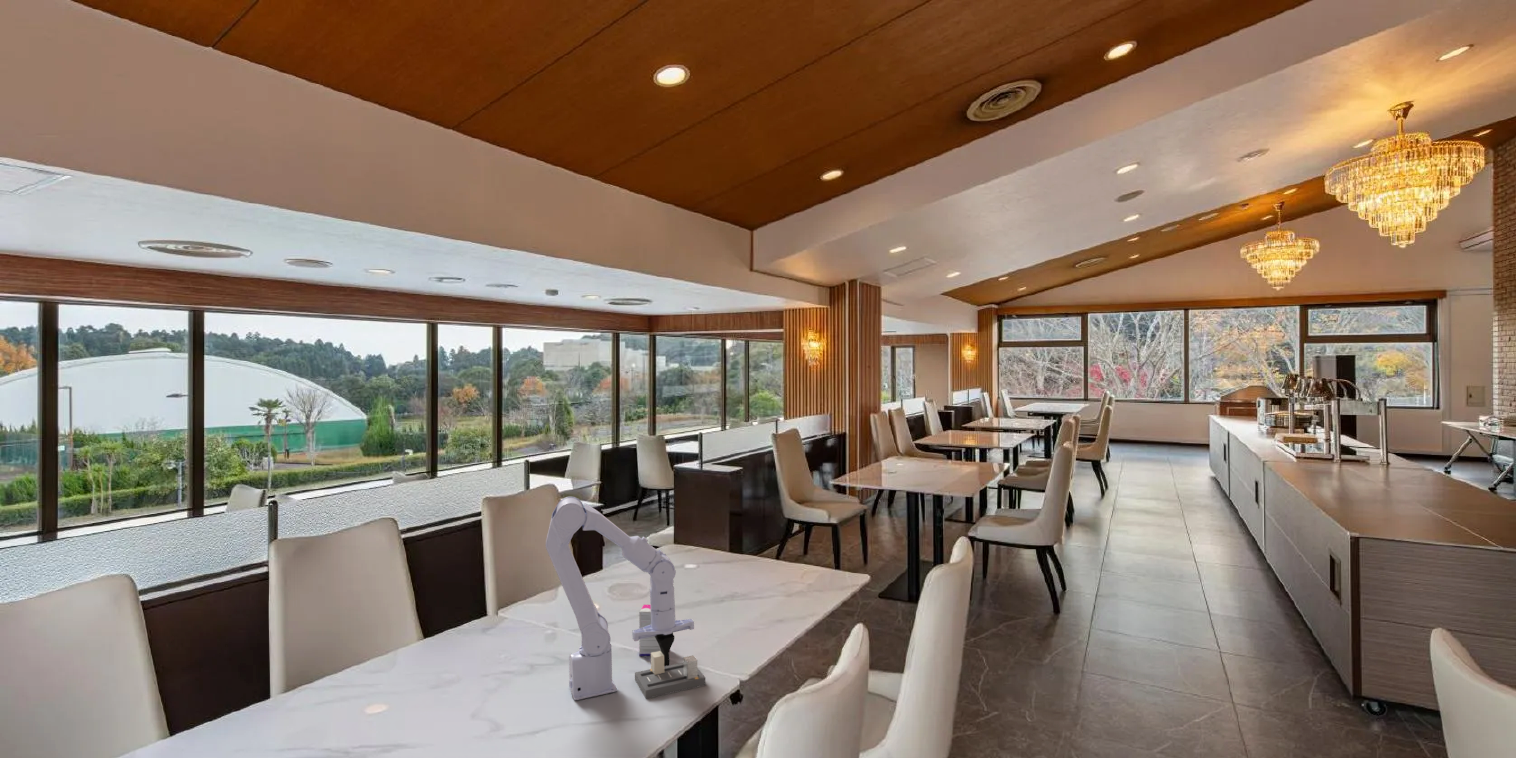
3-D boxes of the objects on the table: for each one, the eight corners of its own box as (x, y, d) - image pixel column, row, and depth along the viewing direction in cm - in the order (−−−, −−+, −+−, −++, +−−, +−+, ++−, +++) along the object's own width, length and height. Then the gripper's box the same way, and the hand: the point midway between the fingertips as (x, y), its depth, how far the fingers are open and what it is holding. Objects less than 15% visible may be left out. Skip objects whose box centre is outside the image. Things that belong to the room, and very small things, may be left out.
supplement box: (661, 656, 166) (660, 611, 167) (638, 656, 167) (637, 611, 167) (665, 647, 172) (664, 603, 172) (643, 647, 172) (642, 604, 172)
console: (645, 698, 144) (645, 690, 144) (635, 680, 153) (634, 672, 153) (705, 685, 150) (705, 676, 150) (691, 668, 159) (691, 660, 159)
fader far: (654, 677, 152) (654, 657, 152) (651, 672, 155) (650, 652, 155) (664, 675, 153) (664, 655, 153) (661, 670, 156) (660, 650, 156)
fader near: (687, 682, 149) (687, 662, 149) (683, 677, 152) (683, 657, 152) (697, 680, 150) (697, 660, 150) (693, 674, 153) (693, 655, 153)
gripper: (636, 618, 148) (639, 678, 148) (697, 606, 154) (699, 664, 154) (629, 608, 154) (631, 666, 154) (687, 597, 160) (690, 653, 160)
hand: (665, 664), depth 154 cm, fingers closed, pressing on fader far
